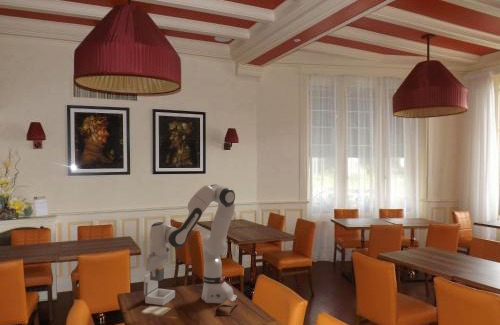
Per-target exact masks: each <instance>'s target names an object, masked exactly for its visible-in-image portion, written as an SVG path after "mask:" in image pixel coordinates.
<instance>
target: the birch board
mask: <svg viewBox="0 0 500 325" xmlns="http://www.w3.org/2000/svg"><path fill="white" fill-rule="evenodd" d="M170 310H172V307H167V306H166V307H165V306H160V305H152V304H150V305H149V306H148V307H146V308H145V309H143V310H142V311H141V312H140V313H141V314H143V315H149V316H155V317H156V316H157V317H164V316H166V314H167V312H169V311H170Z"/></svg>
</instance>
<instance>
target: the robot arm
mask: <svg viewBox="0 0 500 325" xmlns="http://www.w3.org/2000/svg"><path fill="white" fill-rule="evenodd" d="M235 199H236V193H235V191H234V190H233V189H232V188H230V187H227V186H225V185H219V184H211V185H203V186H202V187H200V188H199V189H198V191H196V192H195V194H194V195H193V196H192V197H191V198H190V200H188V201H189V202H188V203H187V210H188V216H187V218H186V219H185V220H184V221H183V223H182V224H181V226H179V228H177V227H175V226H172V225H169V224H167V223H165V222H164V221H160V222H159V221H158V222H154V223H153V224H152V225H151V226H150V231H149V241H150V244H149V254H148V256H147V258H146V261H145V271H147V272H150V271H151V272H152V276H153V277H155V276H156V272H155V271H156V269H157V268H159V267H161V266H165V265H166V264H168V263H169V260H170V259H169V258H170V255H169V254H170V247H168V246H166V244H169V245H170V246H172V247H173V248H176V249H177V248H178V249H179V248H182V247H183V246H185V245H186V243H187V241H188V238H189V236H190V234H191V232H192V231H193V229H194V228H195V226H196V225H197V223H198V222H199V220H200V219H201V217H202V215H203V214H204V212H205V211H206V209H208V207H209V206H210V205H211V203H213V202H215V203H216V204H217V206H218V207H217V210H216V212H215V215H214V217H213V220H212V223H211V225H210V226H211V228H210V233H209V234H207V235H205V236H204V237H203V238H202V239H201V244H202V256H203V275H202V276H203V278H202V283H203V287H202V294H201V297H200V298H201V300H202V301H203V302H205V303H206V304H221V303H222V302H223V301H224V300H225V299H226V298H228V299H229V300H231V301H234V302H235V301H237V299H236V298H238V296H237V294H234V289H233V287H232V286H230V284H228V283H227V282H225V279H226V276H225V275H224V276H223V275H222V270H223V269H222V268H223V267H222V264H223V262H222V260H221V256H223V255H224V254H225V251H226V242H227V236H228V231H229V228H230V226H231V222H232V219H233V217H234V214H235V208H236V204H235Z"/></svg>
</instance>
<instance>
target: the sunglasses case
mask: <svg viewBox="0 0 500 325" xmlns="http://www.w3.org/2000/svg"><path fill="white" fill-rule="evenodd" d="M236 305H237V306H238V305H239V304H238V303H236V302H235V301H234V302H233V301H231V300H229V299H228V298H226V299H225V300H224V301H223V302H222V303H219V305H218V307H216V309H215V314H216V315H220V316H227V315H228V316H230V314H231V313H232V311H233V310H234V309H235V308H236V307H237V306H236ZM235 306H236V307H235Z"/></svg>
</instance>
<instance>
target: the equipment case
mask: <svg viewBox="0 0 500 325" xmlns="http://www.w3.org/2000/svg"><path fill="white" fill-rule="evenodd" d="M143 296H144V297H145V299H144V300H145V301H144V302H145V304H148V305H149V304H150V305H155V306H165V305H166V304H168V303H169V302H171V301H172V299H174V298H175V297H176V290H173V289H164V288H159V281H154V280H150V273H147V274H146V275H144V277H143Z"/></svg>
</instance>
